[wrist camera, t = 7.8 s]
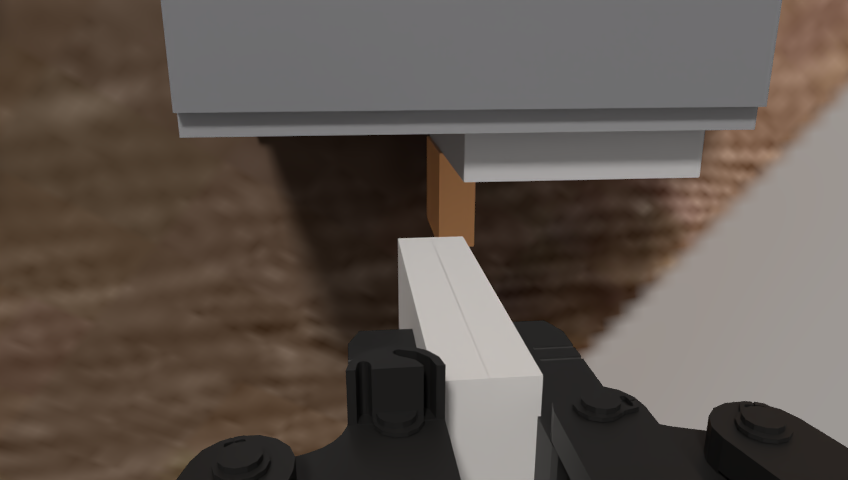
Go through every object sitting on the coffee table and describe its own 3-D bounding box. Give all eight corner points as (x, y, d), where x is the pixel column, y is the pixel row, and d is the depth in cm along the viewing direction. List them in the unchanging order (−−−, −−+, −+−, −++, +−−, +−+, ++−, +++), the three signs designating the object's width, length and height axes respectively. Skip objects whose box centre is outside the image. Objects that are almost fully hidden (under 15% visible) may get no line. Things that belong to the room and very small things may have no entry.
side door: (427, 216, 26) (458, 296, 18) (426, 98, 25) (460, 128, 17) (586, 213, 27) (685, 288, 19) (595, 97, 26) (705, 124, 18)
